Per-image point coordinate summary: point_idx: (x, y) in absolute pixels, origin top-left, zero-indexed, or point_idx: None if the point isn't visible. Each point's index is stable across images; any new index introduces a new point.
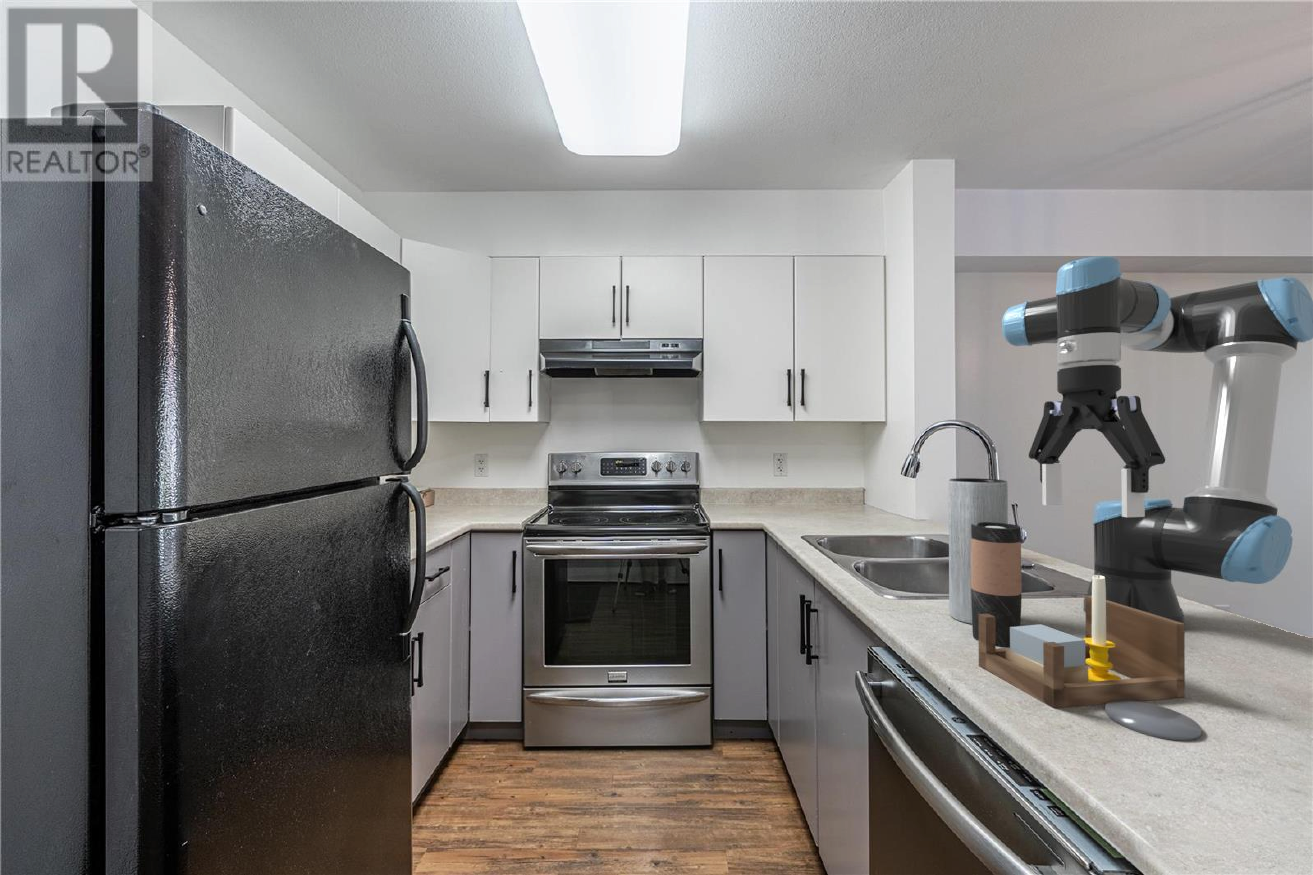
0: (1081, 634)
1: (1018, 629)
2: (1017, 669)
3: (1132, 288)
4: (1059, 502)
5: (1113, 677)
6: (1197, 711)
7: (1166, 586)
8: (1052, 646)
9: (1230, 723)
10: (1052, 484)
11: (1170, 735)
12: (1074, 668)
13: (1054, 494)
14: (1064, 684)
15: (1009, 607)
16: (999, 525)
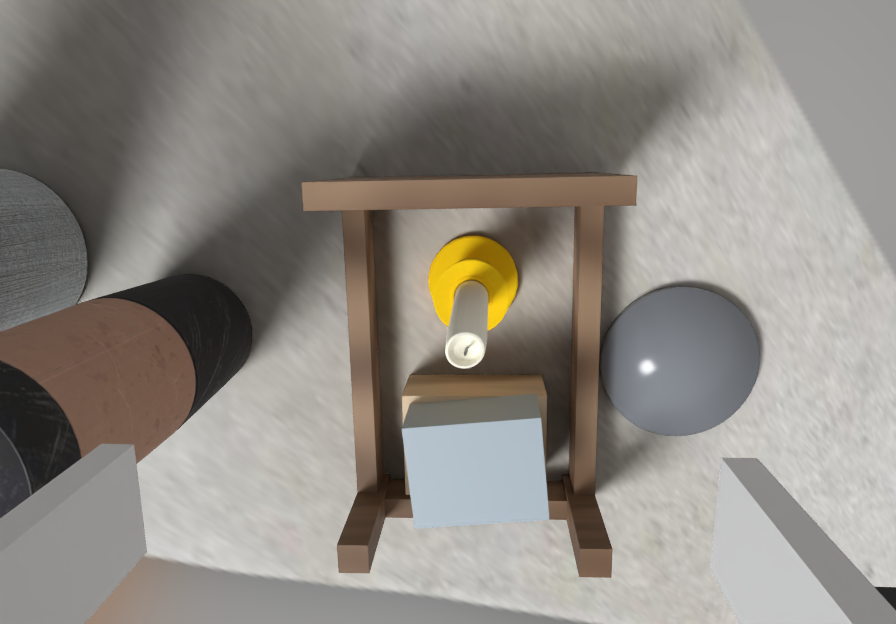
0: (163, 34)
1: (436, 521)
2: None
3: None
4: (126, 467)
5: (491, 259)
6: (659, 215)
7: None
8: (607, 576)
9: (718, 202)
10: (50, 604)
11: (747, 396)
12: (546, 432)
13: (96, 535)
14: (579, 480)
15: (211, 371)
16: None
